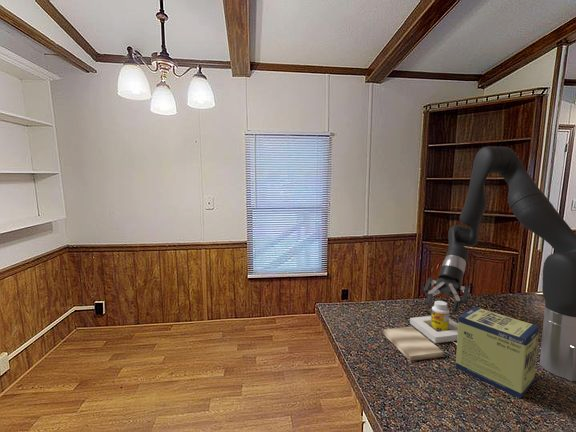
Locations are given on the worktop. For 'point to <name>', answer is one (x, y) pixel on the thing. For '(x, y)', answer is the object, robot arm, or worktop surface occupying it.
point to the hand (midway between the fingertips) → (440, 308)
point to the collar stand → (432, 334)
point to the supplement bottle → (440, 316)
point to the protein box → (497, 350)
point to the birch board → (412, 343)
